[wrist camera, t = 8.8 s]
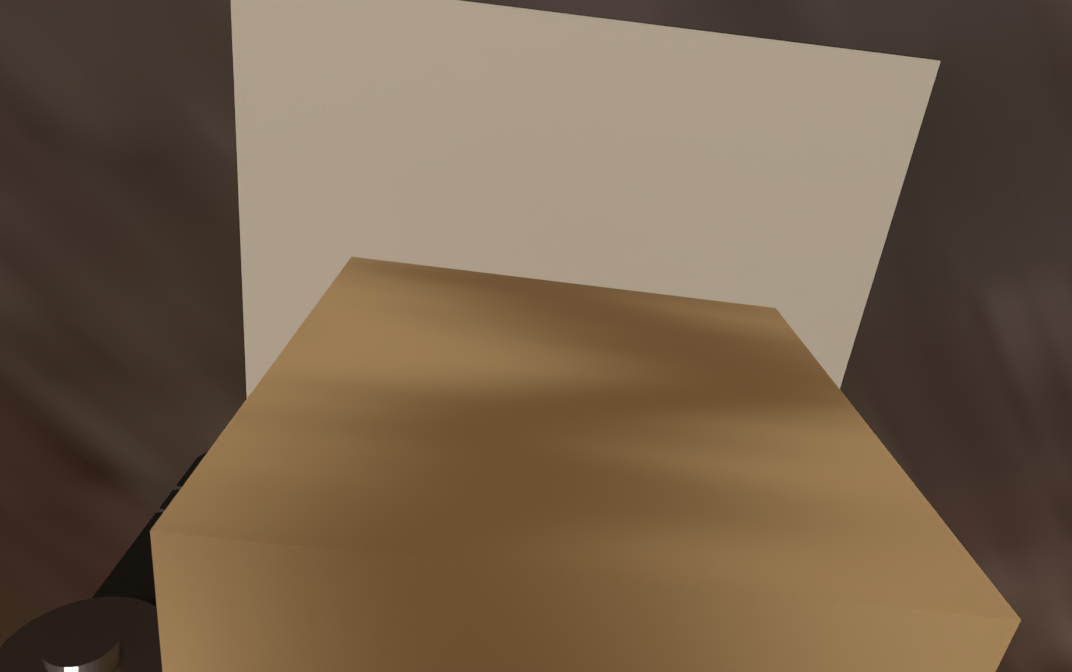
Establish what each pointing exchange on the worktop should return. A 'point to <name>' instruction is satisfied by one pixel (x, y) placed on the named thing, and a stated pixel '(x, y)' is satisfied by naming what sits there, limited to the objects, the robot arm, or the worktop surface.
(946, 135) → the worktop surface
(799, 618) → the maple block
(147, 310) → the worktop surface
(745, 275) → the plate
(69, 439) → the worktop surface
